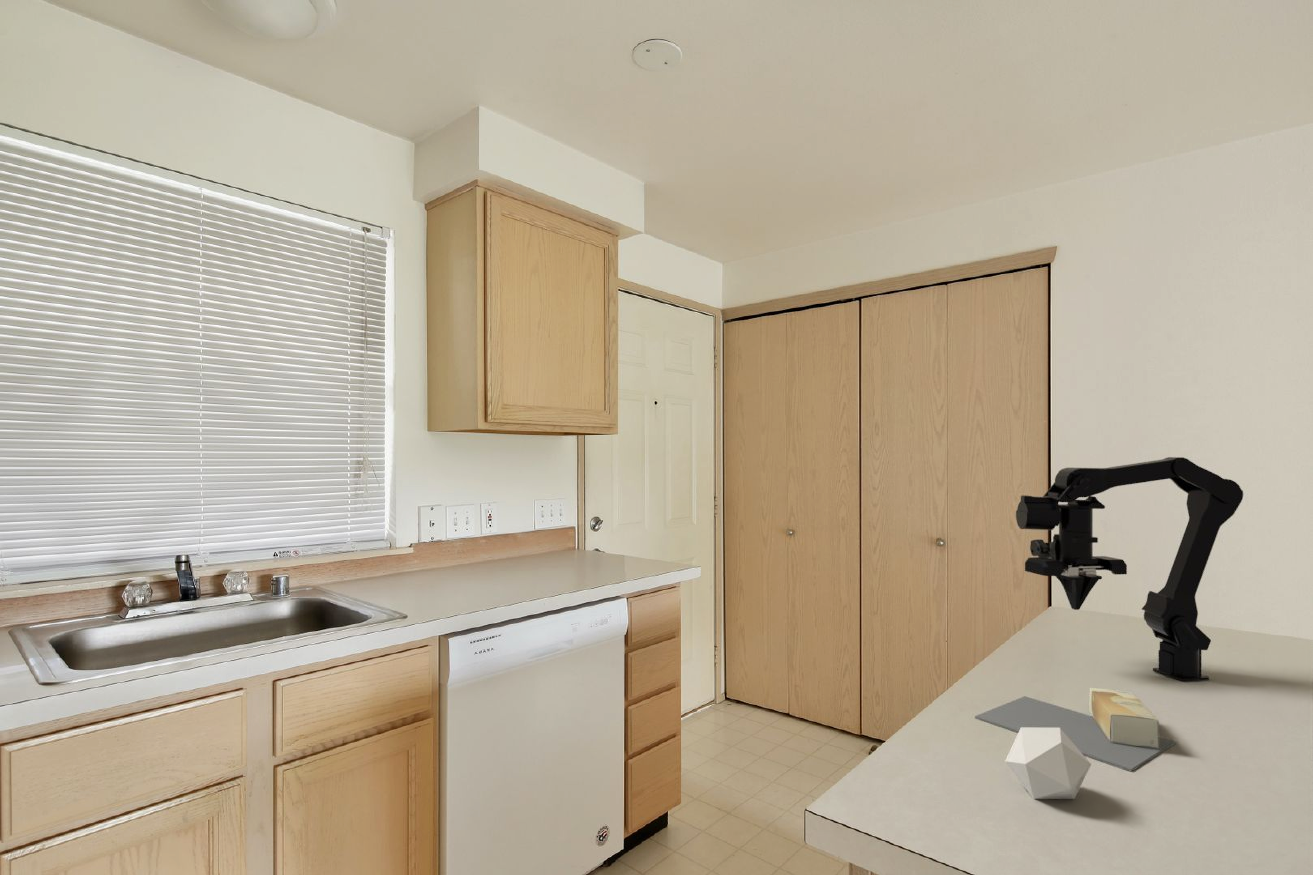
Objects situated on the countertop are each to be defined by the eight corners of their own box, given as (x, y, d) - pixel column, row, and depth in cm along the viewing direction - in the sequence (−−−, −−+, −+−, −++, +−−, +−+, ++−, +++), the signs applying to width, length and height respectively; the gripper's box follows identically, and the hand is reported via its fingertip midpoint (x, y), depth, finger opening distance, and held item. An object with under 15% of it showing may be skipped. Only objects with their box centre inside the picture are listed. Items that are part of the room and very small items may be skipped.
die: (1087, 824, 80) (1112, 748, 83) (1017, 781, 81) (1045, 708, 85) (1048, 814, 87) (1073, 745, 91) (985, 775, 89) (1012, 708, 92)
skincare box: (1132, 691, 110) (1161, 719, 98) (1132, 718, 110) (1162, 749, 98) (1086, 686, 112) (1110, 713, 100) (1086, 713, 112) (1110, 743, 100)
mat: (1024, 697, 119) (1024, 696, 119) (1175, 742, 101) (1175, 740, 101) (975, 717, 110) (975, 715, 110) (1131, 771, 92) (1131, 769, 92)
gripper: (1084, 525, 145) (1083, 599, 145) (1006, 526, 142) (1005, 601, 141) (1129, 532, 134) (1129, 611, 134) (1045, 533, 131) (1045, 614, 130)
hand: (1075, 609), depth 135 cm, fingers closed
